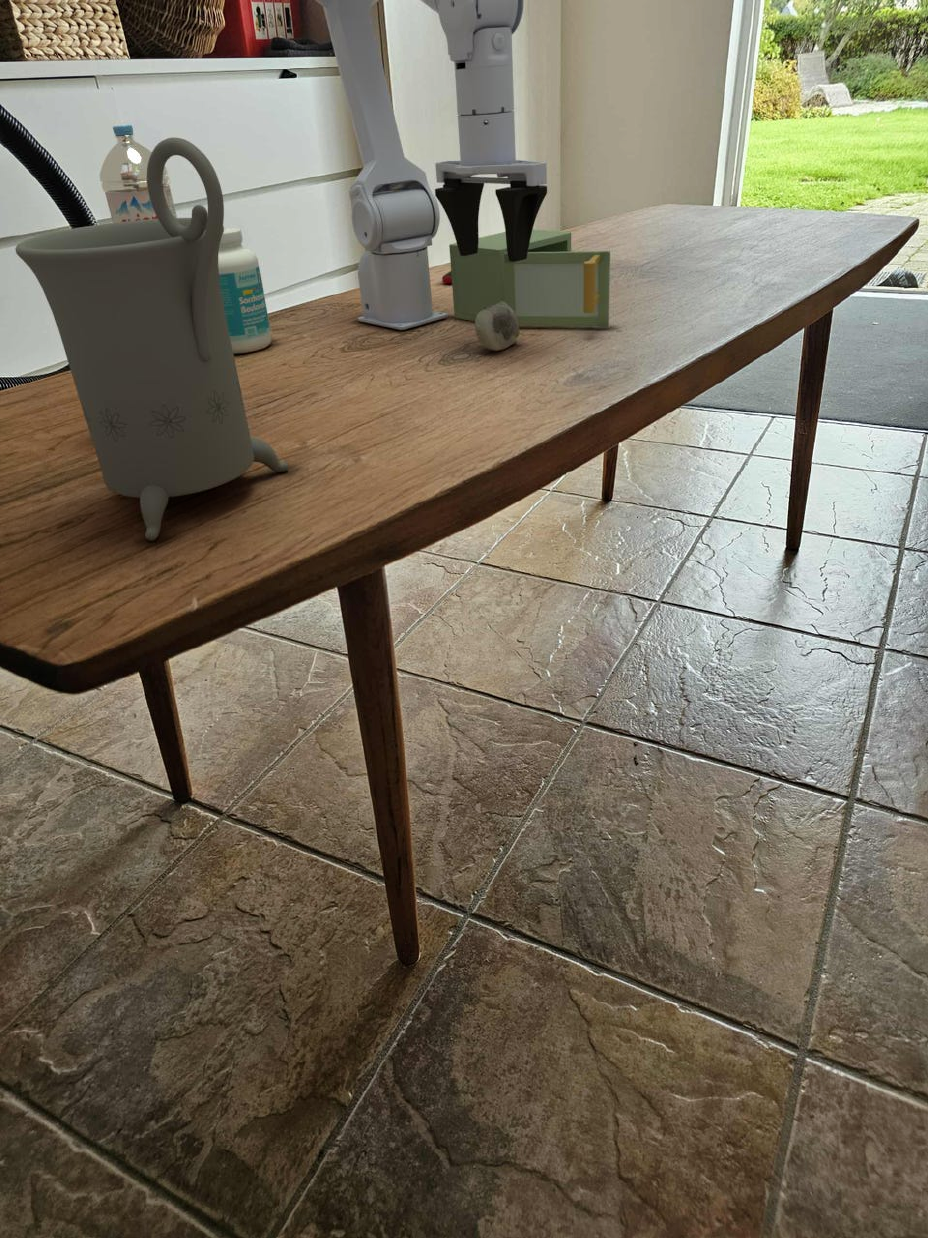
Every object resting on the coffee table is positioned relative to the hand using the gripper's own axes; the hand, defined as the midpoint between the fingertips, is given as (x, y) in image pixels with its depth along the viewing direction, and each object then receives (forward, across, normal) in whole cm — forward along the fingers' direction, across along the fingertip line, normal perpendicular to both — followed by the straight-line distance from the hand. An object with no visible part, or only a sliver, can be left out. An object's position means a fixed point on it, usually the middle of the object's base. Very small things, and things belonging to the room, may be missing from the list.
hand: (492, 257), depth 95 cm
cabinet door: (+10, +1, +8) cm, 13 cm away
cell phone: (+10, -33, +29) cm, 45 cm away
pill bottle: (+10, -28, -17) cm, 34 cm away
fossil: (+10, 0, 0) cm, 10 cm away
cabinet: (+10, -11, +14) cm, 20 cm away
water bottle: (+10, -25, -27) cm, 38 cm away
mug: (+10, +10, -44) cm, 46 cm away
